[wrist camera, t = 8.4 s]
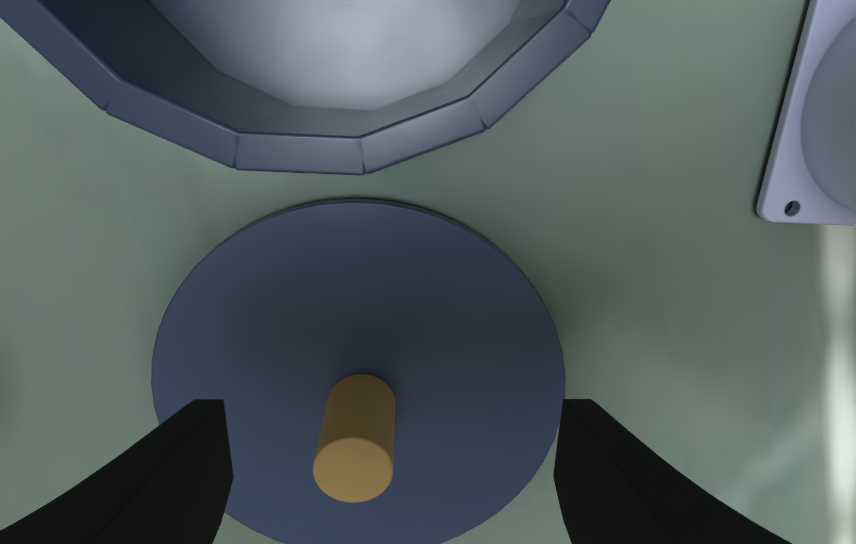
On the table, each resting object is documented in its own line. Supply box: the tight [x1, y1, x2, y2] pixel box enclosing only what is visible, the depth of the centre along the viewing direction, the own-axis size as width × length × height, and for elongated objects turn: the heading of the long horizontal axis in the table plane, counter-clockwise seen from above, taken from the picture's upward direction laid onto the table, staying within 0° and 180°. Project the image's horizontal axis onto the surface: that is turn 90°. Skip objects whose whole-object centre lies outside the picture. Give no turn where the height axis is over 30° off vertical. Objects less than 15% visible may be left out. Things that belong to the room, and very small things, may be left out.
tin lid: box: [151, 199, 565, 544], centre depth 19 cm, size 15×15×5 cm
